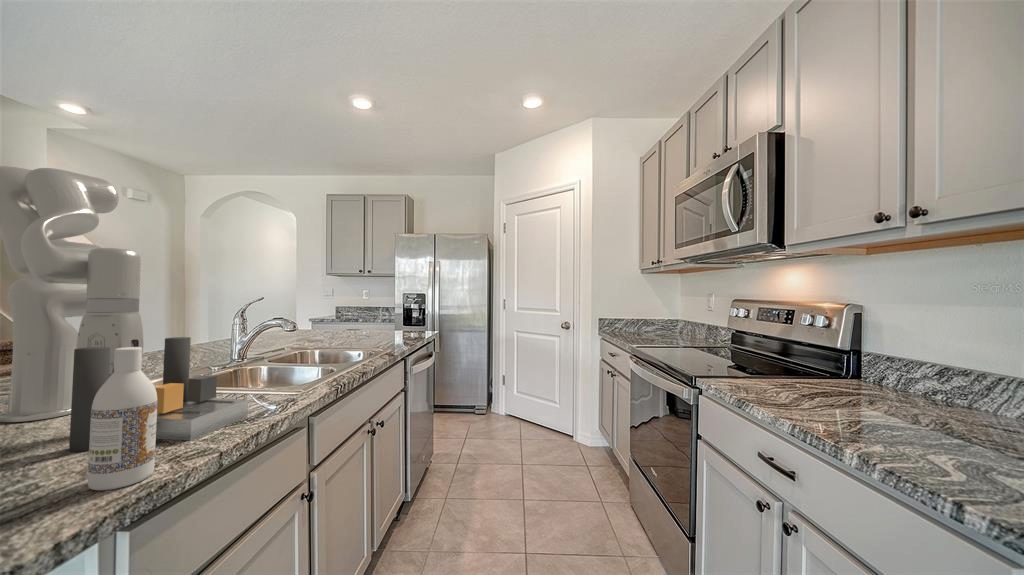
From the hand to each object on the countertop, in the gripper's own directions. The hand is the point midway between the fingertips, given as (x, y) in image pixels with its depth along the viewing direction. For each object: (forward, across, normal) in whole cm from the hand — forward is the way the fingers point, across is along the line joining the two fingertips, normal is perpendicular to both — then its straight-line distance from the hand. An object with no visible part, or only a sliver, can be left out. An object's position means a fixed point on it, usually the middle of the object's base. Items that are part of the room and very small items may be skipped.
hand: (110, 396), depth 76 cm
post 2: (+7, +5, +9) cm, 12 cm away
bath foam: (+8, +25, -18) cm, 32 cm away
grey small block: (+3, +12, +8) cm, 15 cm away
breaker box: (+7, +15, +4) cm, 17 cm away
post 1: (+7, +6, -8) cm, 12 cm away
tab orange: (+3, +12, 0) cm, 13 cm away
